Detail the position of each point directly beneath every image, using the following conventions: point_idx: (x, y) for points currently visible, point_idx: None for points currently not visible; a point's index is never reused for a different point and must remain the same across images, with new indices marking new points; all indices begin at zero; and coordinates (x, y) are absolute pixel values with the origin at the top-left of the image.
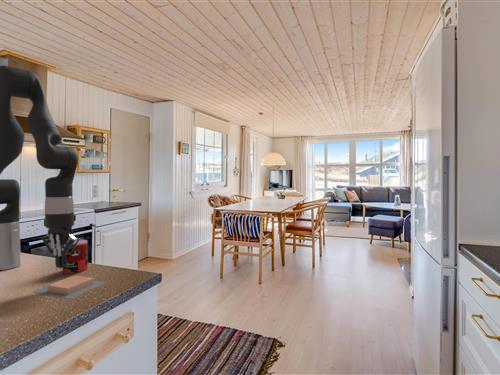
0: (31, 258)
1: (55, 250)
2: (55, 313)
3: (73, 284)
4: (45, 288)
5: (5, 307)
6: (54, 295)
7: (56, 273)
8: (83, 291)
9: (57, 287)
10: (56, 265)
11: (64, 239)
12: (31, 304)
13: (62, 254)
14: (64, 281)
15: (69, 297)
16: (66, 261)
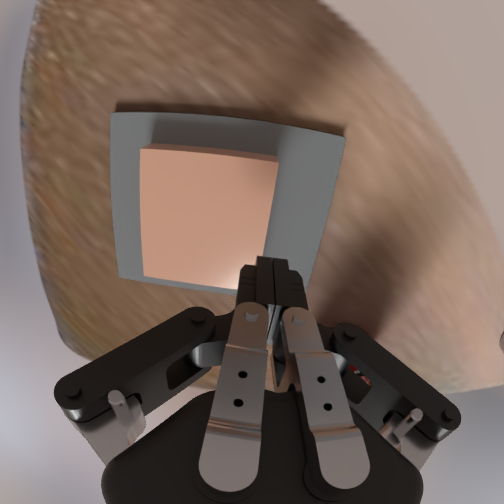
0: (488, 376)
1: (297, 340)
2: (89, 24)
3: (159, 195)
4: (316, 184)
5: (330, 10)
6: (203, 120)
7: (390, 330)
8: (120, 186)
9: (210, 153)
10: (283, 263)
11: (162, 429)
12: (245, 43)
13: (229, 318)
14: (236, 221)
15: (123, 120)
16: (354, 367)
